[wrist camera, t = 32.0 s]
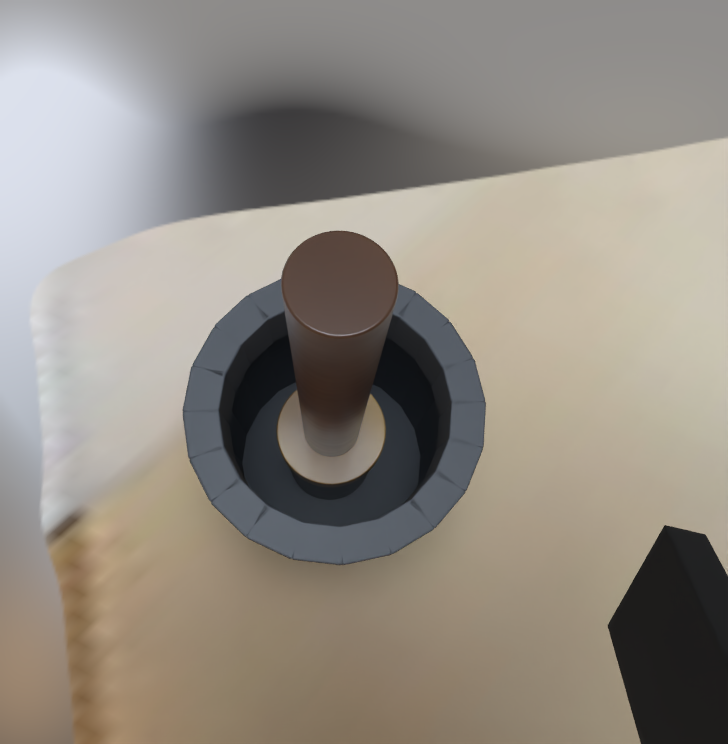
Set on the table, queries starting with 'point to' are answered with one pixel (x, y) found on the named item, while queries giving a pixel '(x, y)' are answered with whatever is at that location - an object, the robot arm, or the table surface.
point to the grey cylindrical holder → (395, 464)
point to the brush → (335, 360)
